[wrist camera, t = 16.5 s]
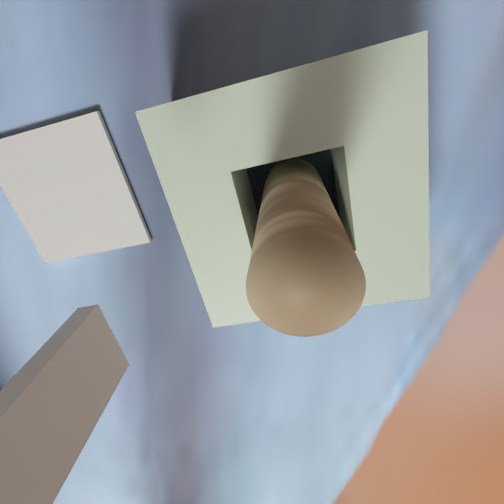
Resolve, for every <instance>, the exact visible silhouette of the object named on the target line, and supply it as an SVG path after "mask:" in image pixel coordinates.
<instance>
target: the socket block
mask: <svg viewBox="0 0 504 504" xmlns="http://www.w3.org/2000/svg"><path fill="white" fill-rule="evenodd" d="M135 113H136V116H137V119H138V122H139V124H140V127H141V130H142V133H143V135H144V138H145V141H146V144H147V147H148V149H149V152H150V155H151V158H152V160H153V163H154V166H155V169H156V171H157V174H158V177H159V180H160V182H161V185H162V188H163V191H164V193H165V196H166V199H167V202H168V204H169V207H170V210H171V213H172V215H173V218H174V221H175V224H176V226H177V229H178V232H179V235H180V237H181V240H182V243H183V246H184V248H185V251H186V254H187V257H188V259H189V262H190V265H191V268H192V270H193V273H194V276H195V279H196V281H197V284H198V287H199V290H200V293H201V295H202V298H203V301H204V304H205V306H206V309H207V312H208V315H209V317H210V320H211V323H212V326H213V327H220V326H227V325H234V324H241V323H248V322H256V321H261V320H260V319H259V318H258V317H257V316H256V314H255V313H254V312H253V310H252V309H251V307H250V305H249V302H248V299H247V295H246V278H247V273H248V268H249V263H250V257H251V252H252V247H253V242H254V237H255V232H256V227H257V221H258V214H257V210H256V205H255V201H254V197H253V193H252V189H251V185H250V181H249V177H248V173H247V169H246V168H250V167H254V166H259V165H263V164H267V163H272V162H276V161H280V160H285V159H289V158H293V157H298V156H302V155H306V154H311V153H315V152H319V151H324V150H328V149H331V155H332V162H333V170H334V177H335V185H336V192H337V200H338V208H339V215H340V216H339V219H340V221H341V223H342V225H343V227H344V229H345V231H346V234H347V236H348V238H349V240H350V242H351V244H352V247H353V249H354V251H355V253H356V255H357V257H358V259H359V262H360V264H361V266H362V268H363V271H364V274H365V279H366V291H365V296H364V299H363V302H362V304H361V306H368V305H375V304H383V303H390V302H397V301H404V300H411V299H418V298H425V297H430V246H429V129H428V30H426V31H422V32H418V33H415V34H411V35H408V36H404V37H401V38H397V39H393V40H390V41H386V42H383V43H379V44H376V45H372V46H369V47H365V48H361V49H358V50H354V51H351V52H347V53H344V54H340V55H336V56H333V57H329V58H326V59H322V60H319V61H315V62H311V63H308V64H304V65H301V66H297V67H294V68H290V69H287V70H283V71H279V72H276V73H272V74H269V75H265V76H262V77H258V78H254V79H251V80H247V81H244V82H240V83H237V84H233V85H229V86H226V87H222V88H219V89H215V90H212V91H208V92H204V93H201V94H197V95H194V96H190V97H187V98H183V99H180V100H176V101H172V102H169V103H165V104H162V105H158V106H155V107H151V108H147V109H144V110H140V111H137V112H135ZM361 306H360V307H361Z"/></svg>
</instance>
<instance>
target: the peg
mask: <svg viewBox="0 0 504 504" xmlns="http://www.w3.org/2000/svg"><path fill="white" fill-rule="evenodd" d="M365 291H366V279H365V274H364V271H363V268H362V266H361V264H360V262H359V259H358V257H357V255H356V253H355V251H354V249H353V247H352V244H351V242H350V240H349V238H348V236H347V234H346V231H345V229H344V227H343V225H342V223H341V221H340V219H339V216H338V214H337V212H336V210H335V208H334V206H333V203H332V201H331V199H330V197H329V195H328V193H327V191H326V188H325V186H324V184H323V182H322V180H321V178H320V175H319V173H318V171H317V169H316V168H315V167H314V166H313V165H312V164H311V163H310V162H309V161H307V160H305V159H303V158H299V157H293V158H289V159H285V160H280V161H278V162H277V163H276V164H274V165H273V166H272V168H271V169H270V170H269V172H268V174H267V176H266V180H265V185H264V191H263V196H262V201H261V206H260V211H259V216H258V221H257V227H256V232H255V237H254V242H253V247H252V252H251V257H250V263H249V268H248V273H247V278H246V295H247V299H248V302H249V305H250V307H251V309H252V310H253V312H254V313H255V314H256V316H257V317H258V318H259V319H260V320H261V321H262V322H263V323H265V324H266V325H267V326H269V327H271V328H272V329H274V330H276V331H279V332H281V333H284V334H288V335H293V336H305V337H307V336H316V335H322V334H325V333H328V332H331V331H333V330H335V329H337V328H339V327H341V326H342V325H344V324H345V323H347V322H348V321H349V320H350V319H351V318H352V317H353V316H354V315H355V314H356V312H357V311H358V309H359V308H360V306H361V304H362V302H363V299H364V296H365Z"/></svg>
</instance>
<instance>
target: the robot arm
mask: <svg viewBox="0 0 504 504" xmlns="http://www.w3.org/2000/svg"><path fill="white" fill-rule="evenodd" d="M128 366H129V363H128V361H127V359H126V357H125V355H124V353H123V351H122V349H121V348H120V346H119V344H118V342H117V340H116V338H115V336H114V334H113V332H112V330H111V329H110V327H109V325H108V323H107V321H106V319H105V317H104V315H103V313H102V311H101V310H100V308H99V306H98V305H93V306H88V307H82V308H78V309H77V310H76V311H75V312H74V313H73V314H72V315H71V316H70V317H69V319H68V320H67V321H66V322H65V323H64V324H63V325H62V326H61V327H60V328H59V329H58V330H57V331H56V332H55V333H54V334H53V335H52V337H51V338H50V339H49V340H48V341H47V342H46V343H45V344H44V345H43V346H42V347H41V348H40V349H39V350H38V351H37V352H36V354H35V355H34V356H33V357H32V358H31V359H30V360H29V361H28V362H27V363H26V364H25V365H24V366H23V367H22V368H21V369H20V370H19V372H18V373H17V374H16V375H15V376H14V377H13V378H12V379H11V380H10V381H9V382H8V383H7V384H6V385H5V386H4V387H3V389H2V390H1V391H0V504H52V503H53V502H54V500H55V498H56V496H57V494H58V493H59V491H60V489H61V487H62V485H63V483H64V482H65V480H66V478H67V476H68V474H69V473H70V471H71V469H72V467H73V465H74V464H75V462H76V460H77V458H78V456H79V454H80V453H81V451H82V449H83V447H84V445H85V444H86V442H87V440H88V438H89V436H90V434H91V433H92V431H93V429H94V427H95V425H96V424H97V422H98V420H99V418H100V416H101V415H102V413H103V411H104V409H105V407H106V405H107V404H108V402H109V400H110V398H111V396H112V395H113V393H114V391H115V389H116V387H117V386H118V384H119V382H120V380H121V378H122V376H123V375H124V373H125V371H126V369H127V367H128Z"/></svg>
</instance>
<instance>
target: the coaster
mask: <svg viewBox="0 0 504 504" xmlns="http://www.w3.org/2000/svg"><path fill="white" fill-rule="evenodd" d="M0 186H1V188H2V190H3V192H4V193H5V195H6V197H7V199H8V200H9V202H10V204H11V205H12V207H13V209H14V211H15V212H16V214H17V216H18V218H19V219H20V221H21V223H22V225H23V226H24V228H25V230H26V231H27V233H28V235H29V237H30V238H31V240H32V242H33V244H34V245H35V247H36V249H37V251H38V252H39V254H40V256H41V257H42V259H43V261H44V263H49V262H54V261H59V260H64V259H69V258H74V257H79V256H84V255H89V254H94V253H99V252H104V251H109V250H114V249H120V248H125V247H130V246H135V245H140V244H145V243H150V242H151V241H152V239H151V236H150V234H149V231H148V229H147V226H146V224H145V221H144V219H143V216H142V214H141V211H140V209H139V207H138V204H137V202H136V199H135V197H134V194H133V192H132V189H131V187H130V184H129V182H128V179H127V177H126V174H125V172H124V169H123V167H122V165H121V162H120V160H119V157H118V155H117V152H116V150H115V147H114V145H113V142H112V140H111V137H110V135H109V132H108V130H107V128H106V125H105V123H104V120H103V118H102V115H101V113H100V111H96V112H92V113H89V114H85V115H82V116H78V117H75V118H71V119H68V120H64V121H61V122H57V123H54V124H50V125H47V126H43V127H40V128H37V129H33V130H30V131H26V132H23V133H19V134H16V135H12V136H9V137H5V138H2V139H0Z"/></svg>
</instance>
